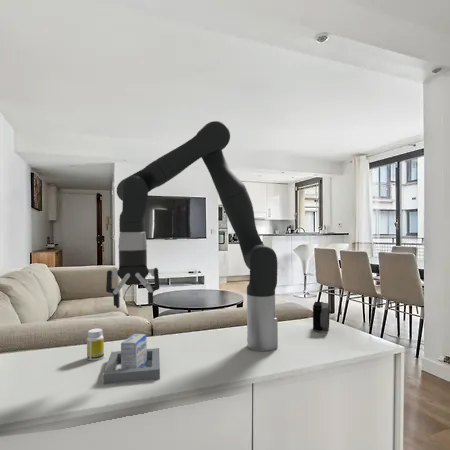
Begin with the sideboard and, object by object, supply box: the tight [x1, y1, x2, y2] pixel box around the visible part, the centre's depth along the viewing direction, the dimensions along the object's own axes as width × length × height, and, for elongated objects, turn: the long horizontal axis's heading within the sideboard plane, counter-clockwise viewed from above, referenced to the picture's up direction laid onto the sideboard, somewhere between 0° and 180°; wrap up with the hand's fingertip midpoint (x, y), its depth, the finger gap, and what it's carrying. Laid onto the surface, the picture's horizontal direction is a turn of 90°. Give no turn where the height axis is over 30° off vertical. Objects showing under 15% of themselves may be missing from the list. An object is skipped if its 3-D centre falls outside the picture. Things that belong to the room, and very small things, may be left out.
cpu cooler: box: [312, 301, 330, 332], centre depth 131 cm, size 10×6×10 cm, turn 159°
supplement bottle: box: [86, 328, 105, 362], centre depth 104 cm, size 5×5×8 cm
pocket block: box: [102, 347, 161, 385], centre depth 96 cm, size 14×16×2 cm
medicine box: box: [120, 333, 148, 370], centre depth 96 cm, size 8×4×9 cm, turn 173°
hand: (133, 306), depth 96 cm, fingers open, 8 cm apart
